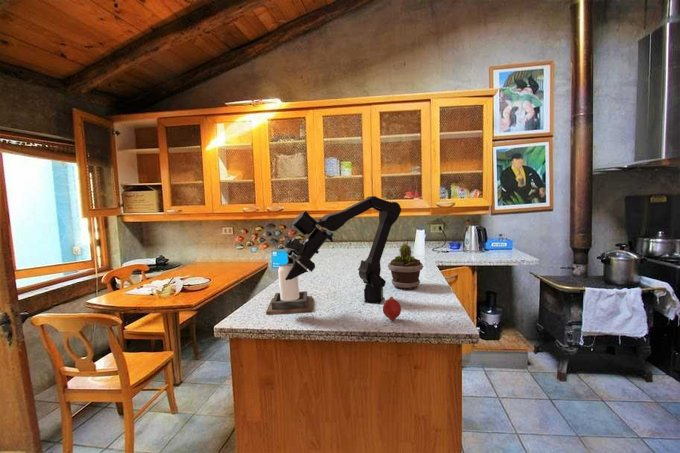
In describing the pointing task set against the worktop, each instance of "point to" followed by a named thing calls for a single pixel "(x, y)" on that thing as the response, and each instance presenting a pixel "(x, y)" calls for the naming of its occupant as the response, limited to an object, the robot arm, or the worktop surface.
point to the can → (288, 284)
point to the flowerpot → (405, 269)
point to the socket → (290, 304)
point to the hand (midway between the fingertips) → (284, 278)
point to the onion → (391, 309)
